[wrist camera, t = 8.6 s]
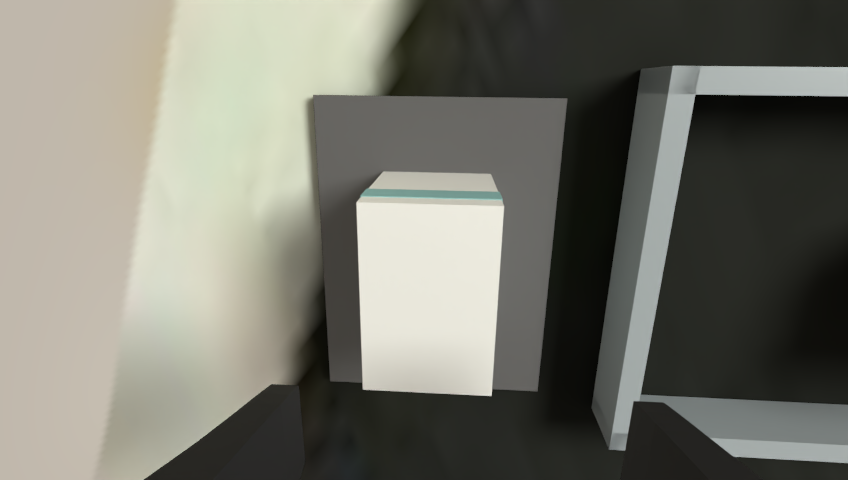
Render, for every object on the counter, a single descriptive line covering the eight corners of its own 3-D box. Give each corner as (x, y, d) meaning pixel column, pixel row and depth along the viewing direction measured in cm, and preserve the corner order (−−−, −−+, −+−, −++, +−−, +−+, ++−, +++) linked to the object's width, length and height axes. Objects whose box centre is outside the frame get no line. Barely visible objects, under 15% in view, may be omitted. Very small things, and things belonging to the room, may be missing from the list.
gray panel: (536, 385, 20) (537, 391, 20) (332, 375, 21) (330, 381, 20) (564, 98, 17) (567, 98, 16) (316, 94, 17) (313, 95, 17)
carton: (491, 172, 17) (505, 205, 12) (483, 320, 19) (492, 396, 14) (382, 170, 17) (355, 201, 13) (385, 316, 19) (361, 390, 15)
